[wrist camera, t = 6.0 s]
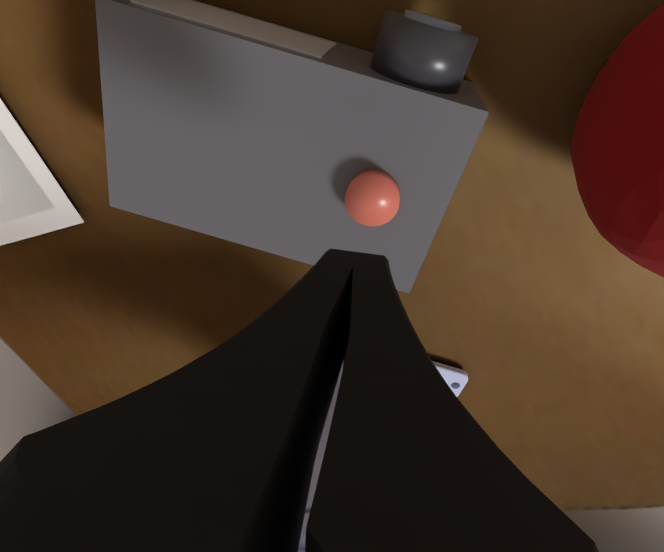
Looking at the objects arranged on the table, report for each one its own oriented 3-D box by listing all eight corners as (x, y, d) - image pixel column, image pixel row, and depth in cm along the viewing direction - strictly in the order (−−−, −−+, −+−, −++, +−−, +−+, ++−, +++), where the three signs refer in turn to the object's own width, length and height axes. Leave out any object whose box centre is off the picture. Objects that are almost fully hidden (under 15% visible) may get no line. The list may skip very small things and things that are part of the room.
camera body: (410, 236, 21) (409, 302, 16) (165, 164, 20) (100, 213, 16) (493, 30, 15) (522, 50, 11) (168, -66, 15) (74, -83, 11)
